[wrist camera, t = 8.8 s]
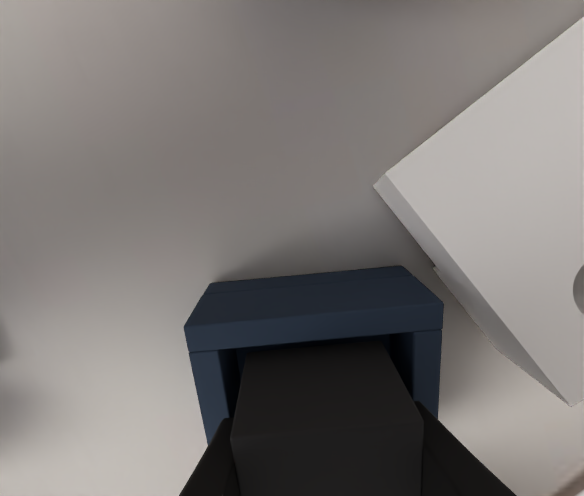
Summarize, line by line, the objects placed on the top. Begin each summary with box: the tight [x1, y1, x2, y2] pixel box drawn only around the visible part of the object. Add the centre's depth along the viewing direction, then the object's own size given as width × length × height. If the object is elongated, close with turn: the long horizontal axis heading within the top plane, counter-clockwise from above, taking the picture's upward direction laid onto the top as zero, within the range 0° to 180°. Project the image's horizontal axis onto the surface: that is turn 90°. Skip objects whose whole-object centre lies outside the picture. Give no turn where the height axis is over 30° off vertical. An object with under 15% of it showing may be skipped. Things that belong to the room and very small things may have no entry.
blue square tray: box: [184, 266, 444, 445], centre depth 11 cm, size 7×8×3 cm
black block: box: [230, 341, 424, 496], centre depth 8 cm, size 4×4×3 cm
